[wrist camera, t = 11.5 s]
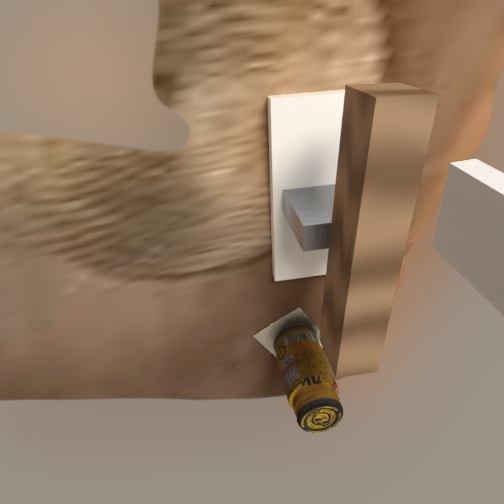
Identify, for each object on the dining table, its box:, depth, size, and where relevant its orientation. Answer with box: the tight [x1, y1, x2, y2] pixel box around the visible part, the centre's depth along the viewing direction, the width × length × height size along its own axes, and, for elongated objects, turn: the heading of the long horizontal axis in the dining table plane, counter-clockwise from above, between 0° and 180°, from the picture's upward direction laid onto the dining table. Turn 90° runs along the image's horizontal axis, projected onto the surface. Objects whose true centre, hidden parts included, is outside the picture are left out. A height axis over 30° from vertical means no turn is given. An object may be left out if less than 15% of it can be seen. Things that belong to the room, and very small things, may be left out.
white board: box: [267, 90, 345, 281], centre depth 41 cm, size 20×11×2 cm, turn 3°
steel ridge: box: [283, 184, 335, 252], centre depth 37 cm, size 2×9×8 cm, turn 93°
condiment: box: [254, 307, 343, 433], centre depth 47 cm, size 7×8×12 cm
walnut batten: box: [319, 83, 440, 378], centre depth 31 cm, size 24×4×5 cm, turn 1°
